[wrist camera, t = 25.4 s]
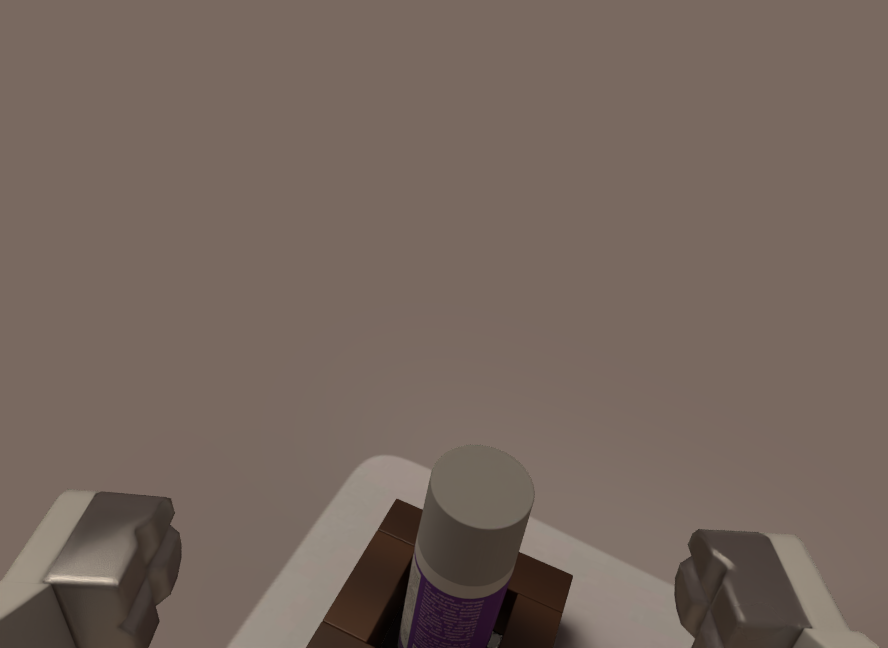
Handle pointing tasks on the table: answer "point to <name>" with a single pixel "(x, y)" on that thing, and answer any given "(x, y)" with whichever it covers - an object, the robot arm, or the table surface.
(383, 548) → the socket
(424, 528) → the container
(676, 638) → the table surface
